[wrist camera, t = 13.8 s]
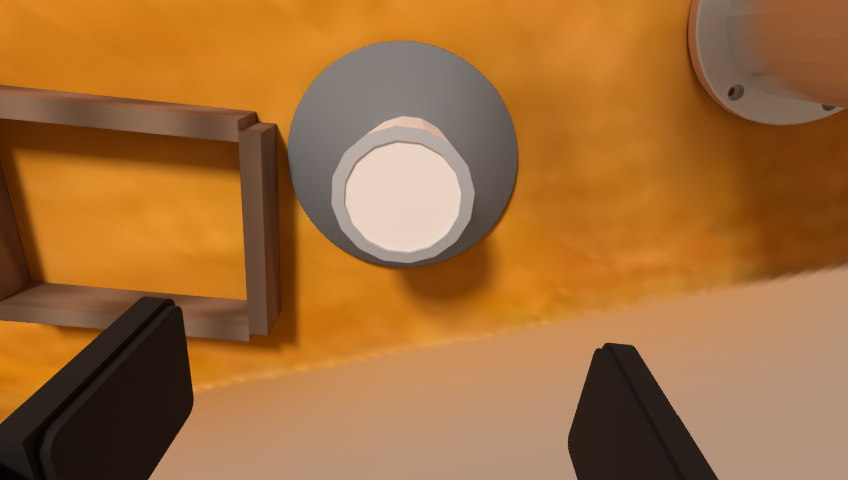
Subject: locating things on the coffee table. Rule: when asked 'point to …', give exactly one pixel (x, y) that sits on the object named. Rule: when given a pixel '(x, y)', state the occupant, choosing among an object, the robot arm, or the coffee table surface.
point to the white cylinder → (403, 191)
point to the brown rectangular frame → (99, 307)
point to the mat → (391, 98)
